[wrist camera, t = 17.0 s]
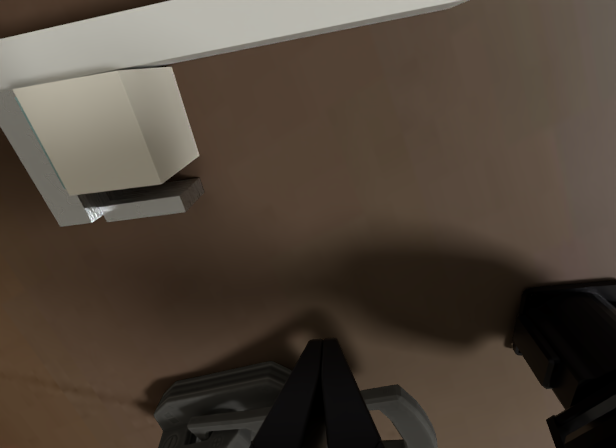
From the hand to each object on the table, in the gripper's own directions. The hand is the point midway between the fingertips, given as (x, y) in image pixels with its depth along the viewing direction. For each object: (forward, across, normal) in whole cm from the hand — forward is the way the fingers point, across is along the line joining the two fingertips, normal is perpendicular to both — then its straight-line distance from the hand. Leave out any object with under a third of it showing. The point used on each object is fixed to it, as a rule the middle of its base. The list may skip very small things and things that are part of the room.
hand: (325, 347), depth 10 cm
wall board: (+12, +4, -10) cm, 16 cm away
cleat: (+12, +11, -5) cm, 17 cm away
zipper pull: (+12, +7, +18) cm, 23 cm away
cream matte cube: (+12, +10, -6) cm, 17 cm away
